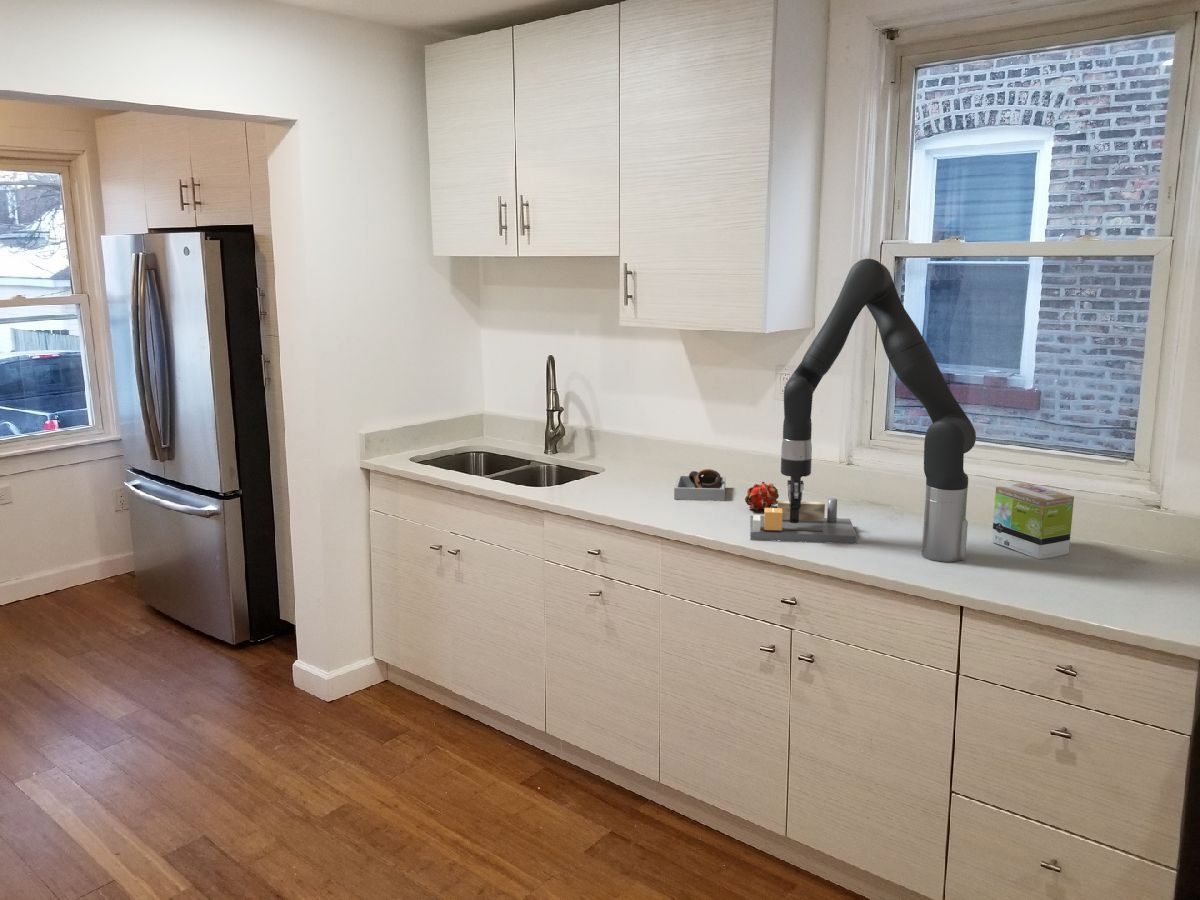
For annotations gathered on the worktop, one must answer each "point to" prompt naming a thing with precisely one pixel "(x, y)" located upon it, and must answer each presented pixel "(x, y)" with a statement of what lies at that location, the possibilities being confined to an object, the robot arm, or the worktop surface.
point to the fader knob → (773, 518)
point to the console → (807, 529)
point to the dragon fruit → (761, 496)
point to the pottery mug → (706, 479)
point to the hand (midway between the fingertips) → (794, 522)
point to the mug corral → (697, 490)
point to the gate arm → (804, 510)
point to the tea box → (1032, 520)
